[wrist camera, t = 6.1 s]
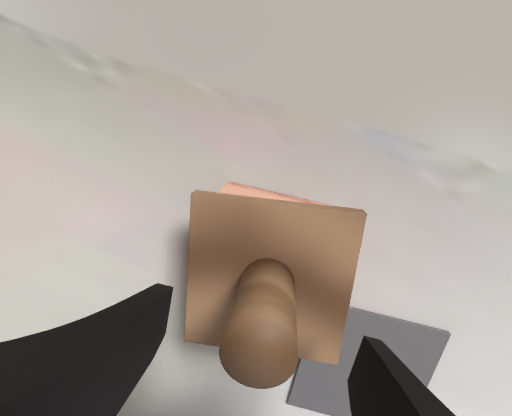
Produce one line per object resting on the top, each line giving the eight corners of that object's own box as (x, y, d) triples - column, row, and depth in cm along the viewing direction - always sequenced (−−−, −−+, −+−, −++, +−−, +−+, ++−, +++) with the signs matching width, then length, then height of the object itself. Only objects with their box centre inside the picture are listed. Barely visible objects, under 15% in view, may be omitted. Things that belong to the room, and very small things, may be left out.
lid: (335, 353, 16) (360, 469, 11) (189, 331, 17) (140, 430, 11) (362, 209, 14) (410, 259, 9) (195, 190, 15) (141, 225, 9)
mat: (403, 431, 22) (405, 435, 22) (287, 400, 22) (287, 403, 22) (448, 331, 20) (450, 334, 19) (318, 299, 20) (319, 301, 20)
